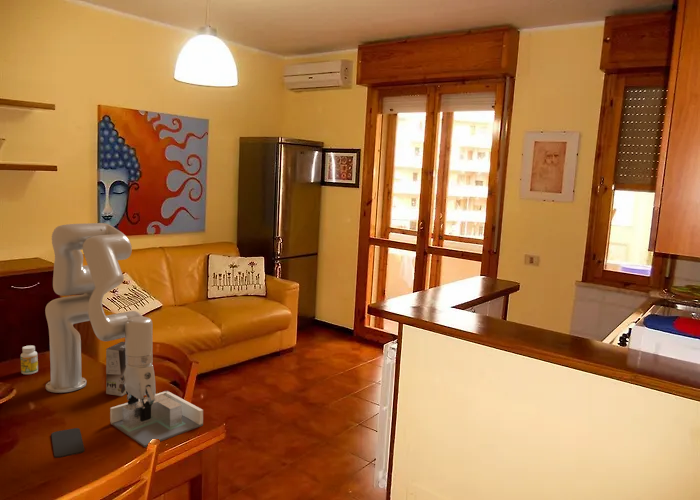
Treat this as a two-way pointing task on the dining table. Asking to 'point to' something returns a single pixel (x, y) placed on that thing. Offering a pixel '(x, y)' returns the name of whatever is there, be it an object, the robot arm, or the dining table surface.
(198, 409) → the corner arena
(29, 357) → the supplement bottle
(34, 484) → the dining table surface
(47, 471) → the dining table surface
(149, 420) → the aluminium bracket
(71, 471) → the dining table surface
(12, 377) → the dining table surface
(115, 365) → the coffee box
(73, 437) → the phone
